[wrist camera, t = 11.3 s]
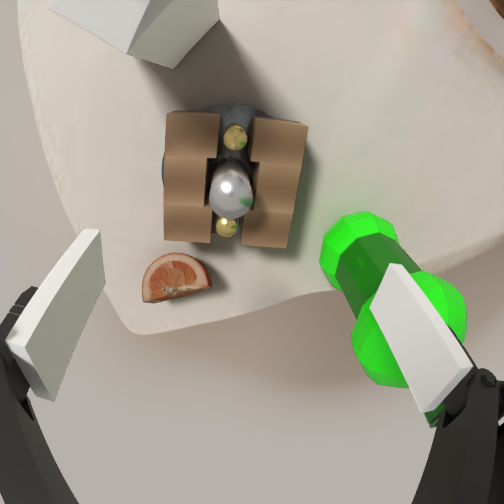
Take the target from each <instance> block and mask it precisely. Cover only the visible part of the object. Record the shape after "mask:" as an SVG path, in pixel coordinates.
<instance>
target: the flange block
mask: <svg viewBox="0 0 504 504" xmlns="http://www.w3.org/2000/svg"><path fill="white" fill-rule="evenodd" d="M220 121H221V113H214V112H196V111H173V112H170V113H168V114H167V118H166V135H165V158H164V240H169V241H185V242H200V243H210V238H211V228H212V214H213V210H212V208H211V206H210V203H209V195H210V193H207V192H206V190H207V175H208V162H209V158H216V156H217V151H218V141H219V130H220ZM307 131H308V126H306V125H303V124H301V123H299V122H296V121H289V120H282V119H275V118H267V117H258V116H252V124H251V132H250V141H249V149H248V153H249V156H250V160H251V161H254V162H255V166H254V174H253V182H252V195H253V202H252V206H251V208H250V209H249V211H248V212H247V213H246V214H245V215H243V216H241V218H240V227H239V228H240V240H241V245H246V246H260V247H275V248H287V242H288V237H289V232H290V227H291V222H292V216H293V211H294V206H295V200H296V195H297V189H298V184H299V178H300V173H301V167H302V161H303V155H304V149H305V143H306V137H307Z"/></svg>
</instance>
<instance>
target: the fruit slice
mask: <svg viewBox="0 0 504 504" xmlns="http://www.w3.org/2000/svg"><path fill="white" fill-rule="evenodd" d="M210 288H212V282H211V279H210V276H209V274H208V272H207V270H206V268H205V267H204V265H203V264H202V263H201V262H199V261H198V260H197V259H195V258H194V257H192V256H189V255H186V254H182V253H169V254H166V255H163V256H161V257H160V258H158V259H156V260H155V261H154V262H153V263H152V264H151V265H150V266H149V267H148V268H147V270H146V272H145V275H144V277H143V282H142V298H143V302H147V303H158V302H162V301H166V300H170V299H175V298H180V297H184V296H188V295H192V294H196V293H199V292H202V291H205V290H208V289H210Z"/></svg>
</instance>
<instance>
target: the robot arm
mask: <svg viewBox="0 0 504 504" xmlns="http://www.w3.org/2000/svg"><path fill="white" fill-rule="evenodd" d="M105 283H106V282H105V275H104V266H103V257H102V246H101V234H100V230H94V229H84V230H83V231H82V232H81V233H80V235H79V236H78V237H77V238H76V239H75V241H74V242H73V243H72V244H71V246H70V247H69V248H68V249H67V251H66V252H65V253H64V255H63V256H62V257H61V258H60V260H59V261H58V262H57V264H56V265H55V266H54V268H53V269H52V270H51V272H50V273H49V274H48V276H47V277H46V279H45V280H44V281H43V283H42V284H41V285H40V287H39V288H37V287H32V286H31V287H30V288H29V289H27V290H26V291H25V292H23V293H22V294H21V295H20V297H19V298H18V299H17V301H16V302H15V305H14V306H13V307H12V308H11V309H10V311H9V313H8V314H7V316H6V317H5V318H4V320H3V322H2V323H1V325H0V493H1V495H2V498H3V500H4V502H5V504H79V503H78V502H77V500H76V498H75V497H74V495H73V493H72V491H71V490H70V488H69V486H68V484H67V483H66V481H65V479H64V477H63V475H62V473H61V472H60V470H59V468H58V466H57V464H56V462H55V460H54V458H53V456H52V454H51V451H50V449H49V447H48V445H47V443H46V440H45V438H44V436H43V433H42V431H41V429H40V426H39V424H38V421H37V419H36V416H35V413H34V411H33V408H32V405H31V402H30V400H29V398H28V396H27V392H28V390H29V388H30V387H31V389H32V390H33V392H34V393H35V395H36V396H38V397H41V398H44V399H47V400H50V401H53V402H54V401H55V399H56V396H57V393H58V390H59V388H60V385H61V382H62V380H63V377H64V374H65V372H66V369H67V367H68V364H69V362H70V359H71V357H72V354H73V352H74V349H75V347H76V345H77V343H78V340H79V338H80V336H81V333H82V331H83V329H84V327H85V325H86V322H87V320H88V318H89V316H90V314H91V312H92V309H93V307H94V305H95V303H96V301H97V299H98V297H99V295H100V293H101V291H102V289H103V287H104V285H105ZM369 308H370V310H371V311H372V313H373V315H374V317H375V319H376V321H377V323H378V325H379V327H380V329H381V331H382V333H383V335H384V337H385V339H386V340H387V342H388V344H389V346H390V349H391V351H392V353H393V355H394V357H395V359H396V361H397V363H398V365H399V367H400V369H401V371H402V373H403V375H404V378H405V380H406V382H407V384H408V386H409V388H410V391H411V393H412V395H413V397H414V400H415V402H416V404H417V406H418V408H419V411H420V413H425V412H429V411H433V410H434V409H435V408H436V407H437V406H438V405H439V404H440V403H441V402H442V401H443V403H444V405H445V407H444V408H443V409H442V410H441V411H440V412H439V413H438V414H437V415H436V416H435V417H434V418H433V419H432V420H431V422H430V423H431V424H432V423H433V422H434V421H435V420H436V419H439V420H438V422H437V423H436V424H435V426H437V428H436V432H435V436H434V440H433V443H432V447H431V450H430V453H429V457H428V460H427V463H426V466H425V469H424V472H423V475H422V478H421V481H420V483H419V486H418V489H417V491H416V494H415V496H414V499H413V501H412V504H504V423H503V424H502V425H500V426H499V424H498V421H499V420H500V419H501V418H502V417H503V416H504V381H498V380H496V377H495V376H494V375H493V374H492V373H491V372H490V371H489V370H487V369H484V368H481V369H478V368H477V366H476V365H475V363H474V361H473V360H472V358H471V357H470V355H469V354H468V352H467V350H466V349H465V348H464V346H462V343H461V341H460V340H459V339H458V337H457V335H456V334H455V332H454V331H453V329H452V328H451V327H450V326H449V325H447V324H446V323H445V322H444V321H443V319H442V318H441V316H440V315H439V313H438V312H437V311H436V309H435V308H434V306H433V305H432V304H431V302H430V301H429V299H428V298H427V297H426V295H425V294H424V293H423V291H422V290H421V289H420V287H419V286H418V285H417V283H416V282H415V281H414V280H413V278H412V277H411V276H410V274H409V273H408V272H407V271H406V269H405V268H404V267H403V265H401V264H393V263H390V264H389V266H388V268H387V270H386V273H385V275H384V277H383V279H382V282H381V284H380V286H379V288H378V290H377V293H376V295H375V297H374V299H373V301H372V303H371V305H370V307H369Z"/></svg>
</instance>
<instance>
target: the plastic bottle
mask: <svg viewBox="0 0 504 504" xmlns="http://www.w3.org/2000/svg"><path fill="white" fill-rule="evenodd" d="M319 263H320V265H321V267H322V269H323V271H324V272H325V274H326V276H327V278H328V279H329V281H330V283H331V285H332V286H334V287H335V288H337V289H339V290H342V291H343V292H344V294H345V296H346V298H347V301H348V303H349V304H350V306H351V309H352V311H353V313H354V315H355V317H356V319H357V321H356V324H355V326H354V329H353V332H352V334H351V337H352V345H353V349H354V351H355V354H356V356H357V359H358V360H359V362H360V364H361V365H362V367H363V369H364V370H365V372H366V374H367V375H368V376H369V377H370V378H371V379H372V380H373V381H374V382H375V383H376V384H380V385H386V386H392V387H398V388H409V386H408V384H407V382H406V380H405V378H404V375H403V373H402V371H401V369H400V367H399V365H398V363H397V361H396V359H395V357H394V355H393V353H392V351H391V349H390V346H389V344H388V342H387V340H386V339H385V337H384V335H383V333H382V331H381V329H380V327H379V325H378V323H377V321H376V319H375V317H374V315H373V313H372V311H371V310H370V308H369V307H370V305H371V303H372V301H373V299H374V297H375V295H376V293H377V290H378V288H379V286H380V284H381V282H382V279H383V277H384V275H385V273H386V270H387V268H388V266H389V264H390V263H393V264H401V265H403V267H404V268H405V269H406V271H407V272H408V273H409V274H410V276H411V277H412V278H413V280H414V281H415V282H416V283H417V285H418V286H419V287H420V289H421V290H422V291H423V293H424V294H425V295H426V297H427V298H428V299H429V301H430V302H431V304H432V305H433V306H434V308H435V309H436V311H437V312H438V313H439V315H440V316H441V318H442V319H443V321H444V322H445V323H446V324H447V325H449V326H450V327H451V328H452V329H453V331H454V332H455V334H456V335H457V337H458V339H459V340H460V341H461V343H462V345H463V342H464V338H465V335H466V331H467V317H466V307H465V303H464V300H463V297H462V295H461V294H460V293H459V291H458V290H457V289H456V288H455V287H454V286H453V285H452V284H450V283H449V282H447V281H445V280H444V279H442V278H440V277H437V276H435V275H433V274H430V273H428V272H426V271H422V270H421V269H420V268H419V267H418V266H417V264H416V263H415V262H414V261H413V260H412V259H411V258H410V256H409V255H408V254H407V253H406V252H405V251H404V250H403V249H402V247H401V246H400V245H399V242H398V239H397V236H396V233H395V230H394V227H393V225H392V224H391V223H389V222H388V221H386V220H384V219H382V218H380V217H378V216H376V215H374V214H372V213H370V212H360V213H356V214H352V215H348V216H344V217H341V218H340V219H339V220H338V221H337V222H336V223H335V224H334V225H333V226H332V227H331V228H330V229H329V230H328V231H327V232H326V233H325V234H324V239H323V244H322V249H321V253H320V259H319ZM444 407H445V405H444V403H443V401H442V402H441V403H440V404H439V405H438V406H437V407H436V408H435V409H434V410H433V411H429V412H425V413H424V414H425V417H426V419H427V421H428V423H429V425H430V428H433V427H437V426H435V424H436V423H437V422H438V420H439V419H436V420H435V421H434V422H433V423H432V424H431V423H430V422H431V420H432V419H433V418H434V417H435V416H436V415H437V414H438V413H439V412H440V411H441V410H442V409H443V408H444Z"/></svg>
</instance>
